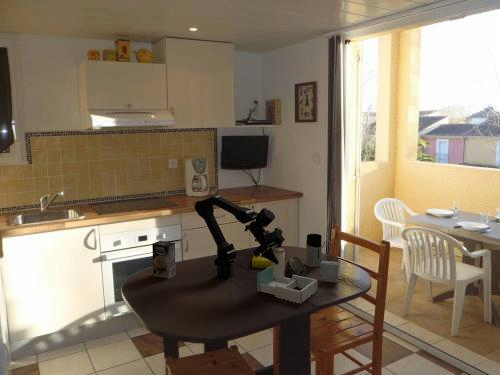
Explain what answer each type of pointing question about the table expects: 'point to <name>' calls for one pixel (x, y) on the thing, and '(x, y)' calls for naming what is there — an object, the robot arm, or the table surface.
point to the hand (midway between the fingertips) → (281, 261)
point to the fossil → (295, 267)
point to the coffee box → (164, 259)
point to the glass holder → (314, 250)
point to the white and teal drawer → (272, 281)
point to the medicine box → (329, 271)
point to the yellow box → (261, 262)
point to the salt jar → (279, 268)
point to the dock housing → (294, 295)
